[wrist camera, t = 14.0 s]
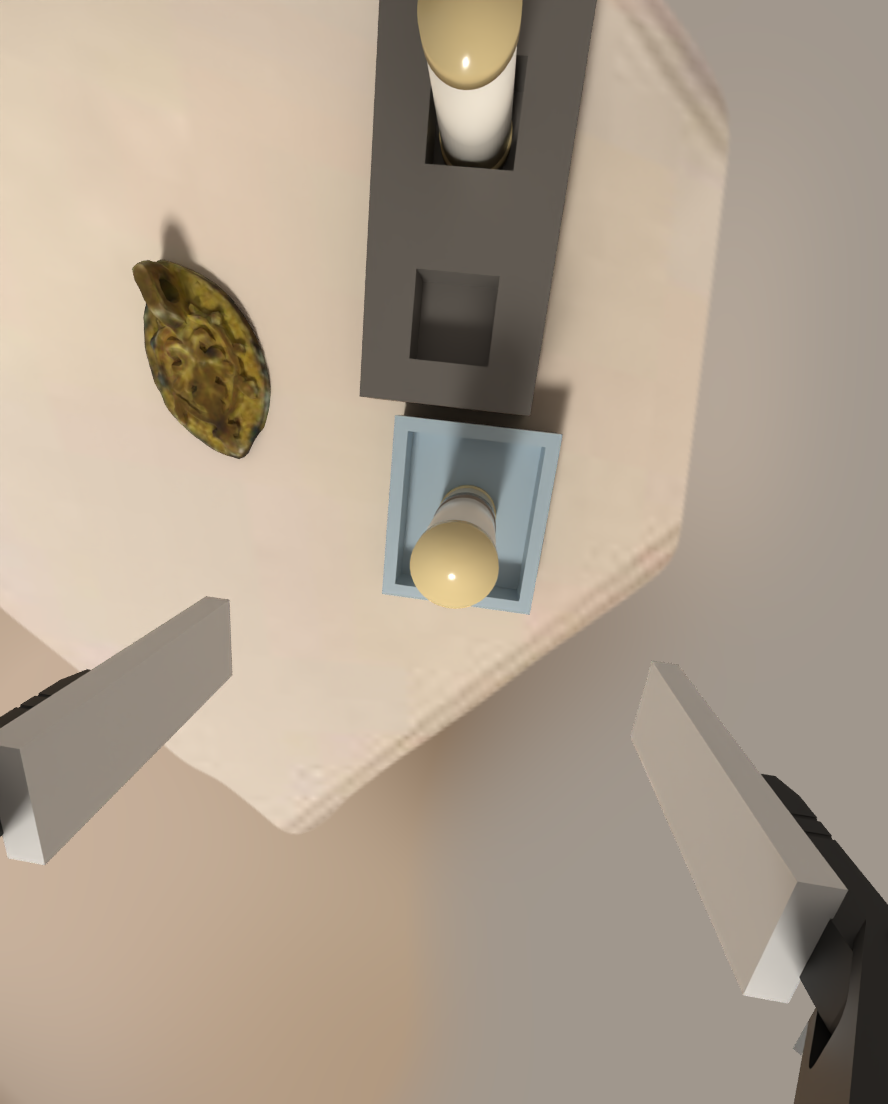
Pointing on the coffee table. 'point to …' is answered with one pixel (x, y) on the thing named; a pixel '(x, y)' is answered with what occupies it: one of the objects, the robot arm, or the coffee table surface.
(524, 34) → the fuse holder
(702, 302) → the coffee table surface
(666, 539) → the coffee table surface
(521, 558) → the parts tray
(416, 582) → the cylinder
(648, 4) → the coffee table surface
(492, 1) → the fuse
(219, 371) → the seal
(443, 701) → the coffee table surface
